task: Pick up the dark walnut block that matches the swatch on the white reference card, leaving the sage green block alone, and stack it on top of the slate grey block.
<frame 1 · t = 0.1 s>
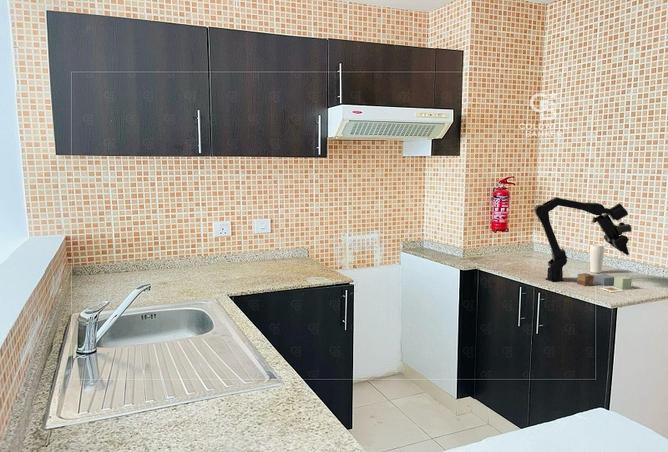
hand: (625, 253, 242), 15 cm above the worktop, tool tilted 30°, fingers open, 9 cm apart
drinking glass: (595, 272, 268), on the worktop
reference card: (611, 289, 232), on the worktop
walnut block: (585, 284, 242), on the worktop
sage block: (622, 287, 236), on the worktop
slate base block: (604, 284, 244), on the worktop
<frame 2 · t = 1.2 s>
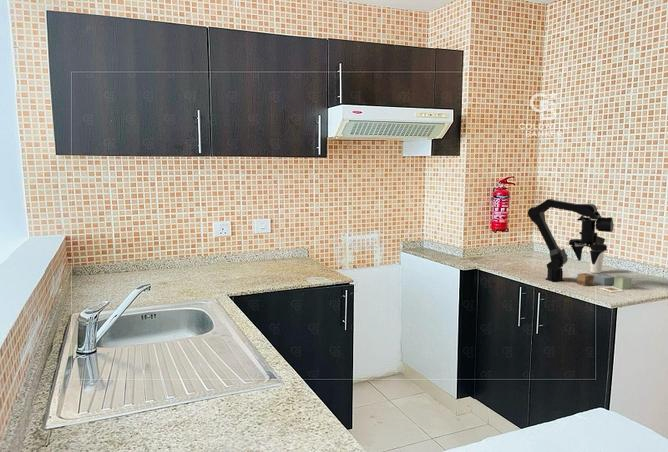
hand: (586, 262, 241), 11 cm above the worktop, tool pointing down, fingers open, 9 cm apart
nothing on the worktop moved.
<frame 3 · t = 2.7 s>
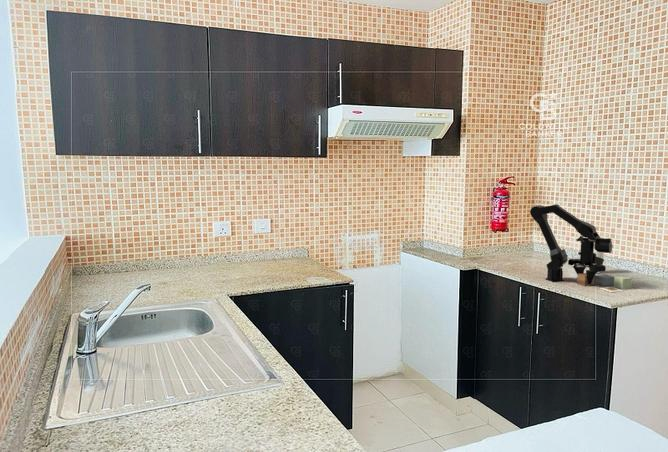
hand: (585, 282, 242), 1 cm above the worktop, tool pointing down, fingers closed on walnut block, 5 cm apart
walnut block: (585, 284, 242), on the worktop, touching gripper
everything else where it was.
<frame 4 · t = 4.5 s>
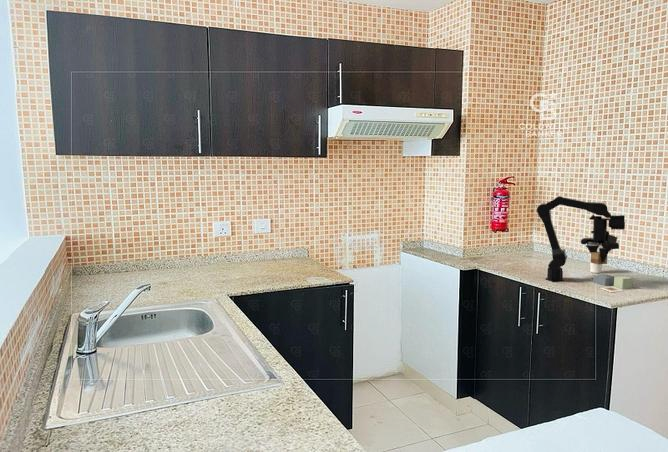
hand: (598, 261, 241), 11 cm above the worktop, tool pointing down, fingers closed on walnut block, 5 cm apart
walnut block: (598, 263, 242), point 10 cm above the worktop, touching gripper
everything else where it was.
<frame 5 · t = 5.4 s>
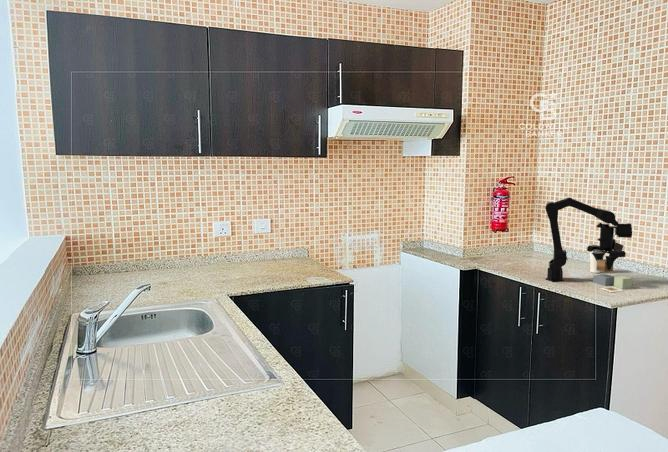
hand: (604, 268, 243), 7 cm above the worktop, tool pointing down, fingers closed on walnut block, 5 cm apart
walnut block: (604, 270, 243), point 6 cm above the worktop, touching gripper
everything else where it was.
when the fingers open (6 cm above the worktop, at t = 6.3 s): walnut block drops 2 cm, resting on slate base block.
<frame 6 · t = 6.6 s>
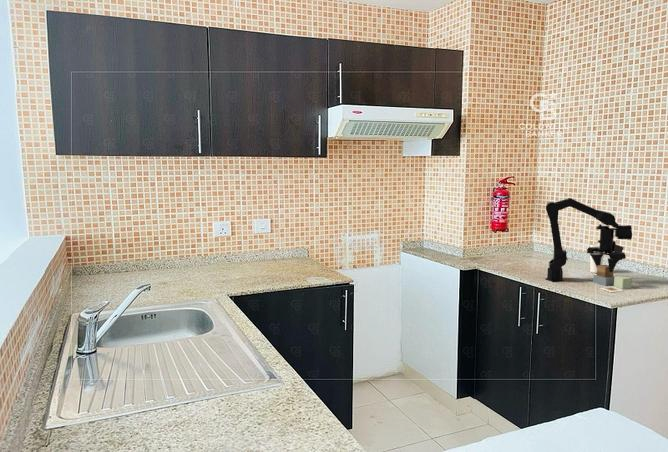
hand: (604, 270, 243), 6 cm above the worktop, tool pointing down, fingers open, 8 cm apart
walnut block: (604, 276, 243), point 4 cm above the worktop, touching slate base block
slate base block: (604, 284, 244), on the worktop, touching walnut block
everything else where it was.
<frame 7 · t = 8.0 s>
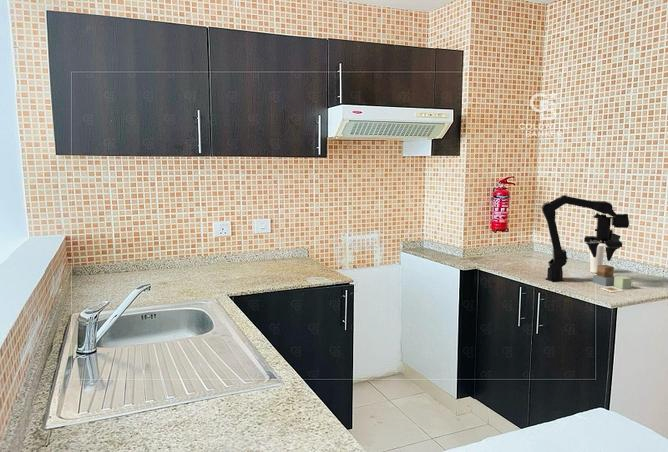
hand: (601, 259, 244), 12 cm above the worktop, tool pointing down, fingers open, 9 cm apart
nothing on the worktop moved.
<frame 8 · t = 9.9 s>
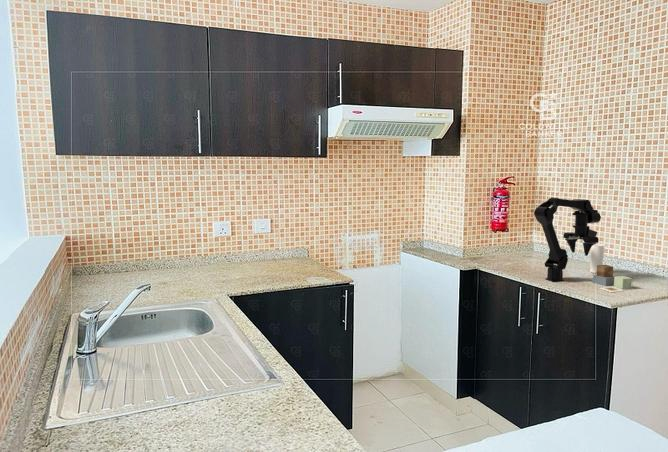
hand: (579, 254, 256), 12 cm above the worktop, tool pointing down, fingers open, 9 cm apart
nothing on the worktop moved.
at the end: walnut block 0.2 cm off-centre on the slate base block, point 4.0 cm above the slate base block's base; walnut block tilted 1°; the gripper is holding nothing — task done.
